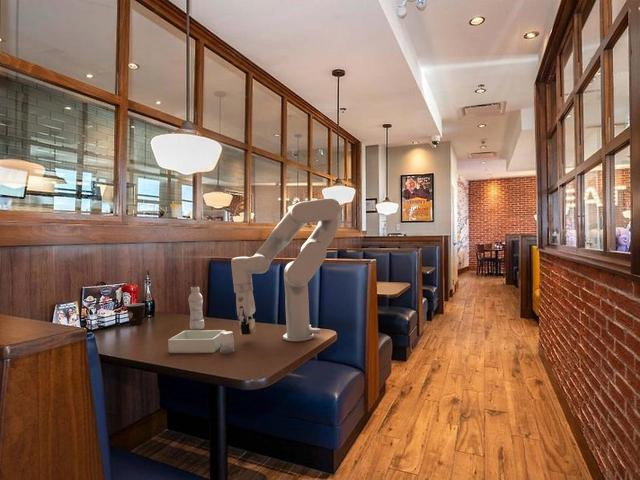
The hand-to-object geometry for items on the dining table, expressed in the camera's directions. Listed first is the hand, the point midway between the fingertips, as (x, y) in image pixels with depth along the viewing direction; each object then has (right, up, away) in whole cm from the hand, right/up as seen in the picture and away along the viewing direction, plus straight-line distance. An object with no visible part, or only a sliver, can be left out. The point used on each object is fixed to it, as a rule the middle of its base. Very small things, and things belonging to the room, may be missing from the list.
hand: (247, 331), depth 158 cm
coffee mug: (-63, -6, +41) cm, 75 cm away
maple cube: (0, -1, 0) cm, 1 cm away
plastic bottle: (-28, -5, +24) cm, 37 cm away
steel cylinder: (-6, -5, -12) cm, 14 cm away
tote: (-18, -5, -5) cm, 20 cm away
